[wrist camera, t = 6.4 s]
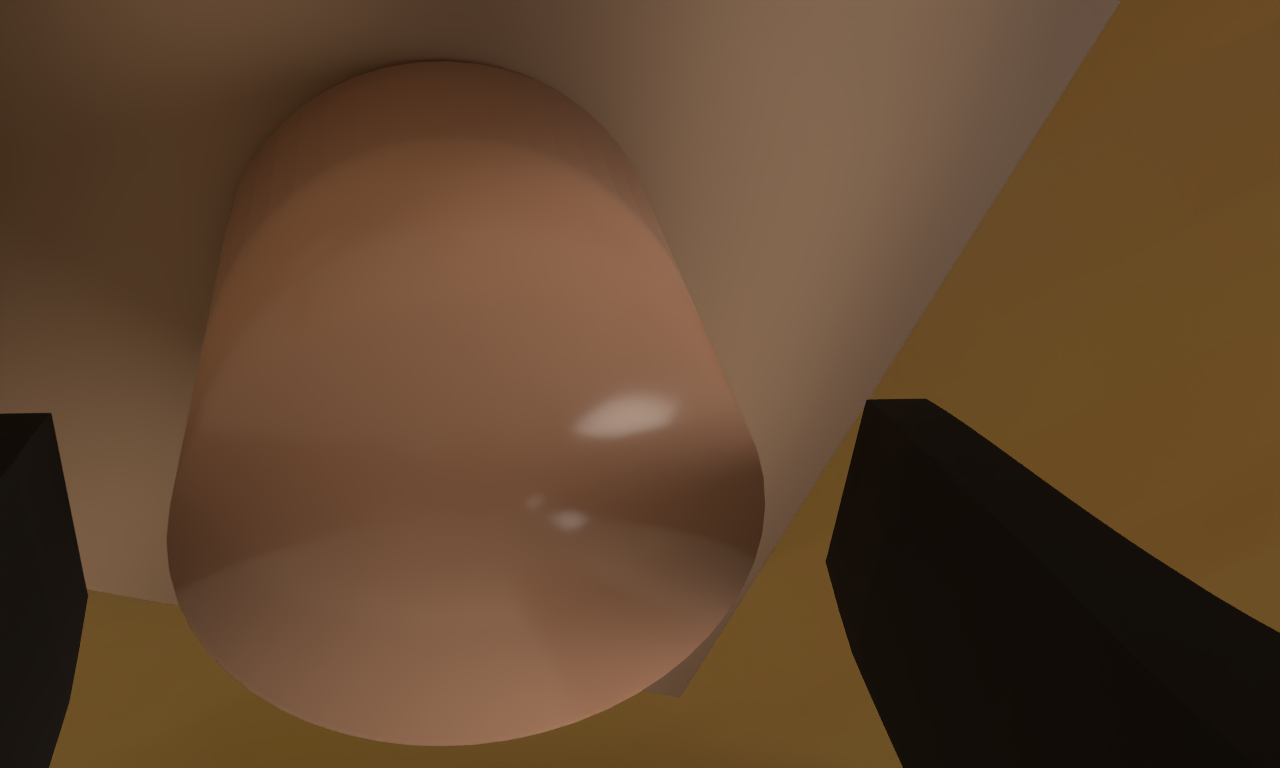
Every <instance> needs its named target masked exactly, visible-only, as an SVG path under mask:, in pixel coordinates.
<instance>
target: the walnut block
mask: <svg viewBox="0 0 1280 768" xmlns="http://www.w3.org/2000/svg"><path fill="white" fill-rule="evenodd" d="M1120 2H1121V0H0V414H4V413H52V418H53V423H54V428H55V433H56V438H57V443H58V448H59V453H60V458H61V463H62V468H63V473H64V478H65V483H66V488H67V493H68V498H69V503H70V508H71V513H72V518H73V523H74V528H75V533H76V538H77V543H78V548H79V553H80V558H81V563H82V568H83V573H84V578H85V583H86V588H87V589H88V590H94V591H99V592H105V593H110V594H116V595H121V596H127V597H132V598H137V599H143V600H148V601H154V602H159V603H165V604H170V605H176V606H180V605H179V603H178V601H177V598H176V594H175V591H174V587H173V583H172V580H171V576H170V572H169V566H168V554H167V542H166V538H167V528H168V518H169V508H170V503H171V498H172V493H173V488H174V483H175V478H176V473H177V469H178V464H179V459H180V454H181V449H182V444H183V439H184V434H185V429H186V424H187V419H188V414H189V409H190V404H191V400H192V395H193V390H194V385H195V380H196V375H197V370H198V365H199V360H200V355H201V350H202V345H203V340H204V335H205V331H206V326H207V321H208V316H209V311H210V306H211V301H212V296H213V291H214V286H215V281H216V276H217V271H218V266H219V262H220V257H221V252H222V247H223V242H224V237H225V232H226V227H227V222H228V217H229V214H230V210H231V207H232V203H233V200H234V196H235V193H236V190H237V188H238V186H239V184H240V182H241V179H242V177H243V175H244V173H245V171H246V168H247V167H248V165H249V164H250V162H251V161H252V159H253V158H254V156H255V155H256V153H257V151H258V150H259V148H260V147H261V145H262V144H263V143H264V142H265V141H266V140H267V139H268V137H269V136H270V135H271V134H272V133H273V132H274V131H275V130H276V128H277V127H278V126H279V125H280V124H281V123H282V122H283V121H284V120H286V119H287V118H288V117H289V116H290V115H292V114H293V113H294V112H295V111H296V110H298V109H299V108H300V107H301V106H302V105H304V104H305V103H307V102H308V101H310V100H312V99H313V98H315V97H316V96H318V95H319V94H321V93H323V92H324V91H326V90H327V89H329V88H332V87H334V86H336V85H338V84H340V83H342V82H345V81H347V80H349V79H351V78H353V77H356V76H359V75H362V74H365V73H369V72H372V71H375V70H378V69H382V68H385V67H391V66H397V65H402V64H408V63H414V62H434V61H453V62H465V63H476V64H482V65H486V66H491V67H496V68H500V69H505V70H509V71H511V72H514V73H517V74H520V75H523V76H526V77H528V78H531V79H534V80H536V81H538V82H540V83H542V84H544V85H546V86H548V87H550V88H552V89H554V90H556V91H558V92H560V93H562V94H563V95H565V96H566V97H567V98H569V99H570V100H572V101H573V102H575V103H576V104H578V105H579V106H580V107H582V108H583V109H585V110H586V111H587V112H588V113H589V114H590V115H591V116H592V117H593V118H595V119H596V120H597V121H598V122H599V123H600V124H601V125H602V126H603V127H604V128H605V129H606V130H607V131H608V132H609V134H610V135H611V136H612V137H613V138H614V140H615V141H616V142H617V143H618V145H619V146H620V147H621V148H622V150H623V151H624V153H625V155H626V156H627V158H628V160H629V161H630V163H631V165H632V166H633V168H634V169H635V172H636V174H637V176H638V178H639V181H640V183H641V185H642V188H643V190H644V192H645V194H646V197H647V199H648V201H649V203H650V206H651V208H652V210H653V213H654V215H655V217H656V219H657V222H658V224H659V226H660V229H661V231H662V233H663V235H664V238H665V240H666V242H667V244H668V247H669V249H670V251H671V254H672V256H673V258H674V260H675V263H676V265H677V267H678V270H679V272H680V274H681V276H682V279H683V281H684V283H685V286H686V288H687V290H688V292H689V295H690V297H691V299H692V301H693V304H694V306H695V308H696V311H697V313H698V315H699V317H700V320H701V322H702V324H703V327H704V329H705V331H706V333H707V336H708V338H709V340H710V342H711V345H712V347H713V349H714V352H715V354H716V356H717V358H718V361H719V363H720V365H721V368H722V370H723V372H724V374H725V377H726V379H727V381H728V383H729V386H730V388H731V390H732V393H733V395H734V397H735V399H736V402H737V404H738V406H739V409H740V411H741V413H742V415H743V418H744V420H745V422H746V425H747V427H748V429H749V432H750V434H751V436H752V439H753V441H754V443H755V446H756V448H757V451H758V455H759V460H760V464H761V468H762V473H763V477H764V493H765V513H764V522H763V531H762V536H761V540H760V544H759V547H758V551H757V554H756V558H755V562H754V564H753V566H752V568H751V571H750V573H749V575H748V577H747V580H746V582H745V584H744V586H743V588H742V590H741V592H740V593H739V595H738V597H737V598H736V600H735V601H734V603H733V605H732V606H731V608H730V610H729V611H728V613H727V614H726V615H725V616H724V618H723V619H722V620H721V621H720V623H719V624H718V625H717V626H716V628H715V629H714V630H713V631H712V633H711V634H710V635H709V636H708V637H707V638H706V639H705V640H704V641H703V642H702V643H701V644H700V645H699V646H698V647H697V648H696V649H695V650H694V651H693V652H692V653H691V654H690V655H689V656H688V657H687V658H686V659H685V660H683V661H682V662H681V663H680V664H678V665H677V666H676V667H675V668H673V669H672V670H671V671H670V672H668V673H667V674H666V675H665V676H663V677H662V678H660V679H659V680H657V681H656V682H654V683H653V684H651V685H650V686H648V687H646V688H645V689H643V691H648V692H654V693H659V694H664V695H670V696H675V697H681V695H682V693H683V692H684V690H685V689H686V687H687V686H688V684H689V682H690V681H691V679H692V678H693V676H694V674H695V673H696V671H697V670H698V668H699V667H700V665H701V663H702V662H703V660H704V659H705V657H706V655H707V654H708V652H709V651H710V649H711V648H712V646H713V644H714V643H715V641H716V640H717V638H718V637H719V635H720V633H721V632H722V630H723V629H724V627H725V625H726V624H727V622H728V621H729V619H730V618H731V616H732V614H733V613H734V611H735V610H736V608H737V607H738V605H739V603H740V602H741V600H742V599H743V597H744V595H745V594H746V592H747V591H748V589H749V588H750V586H751V584H752V583H753V581H754V580H755V578H756V577H757V575H758V573H759V572H760V570H761V569H762V567H763V565H764V564H765V562H766V561H767V559H768V558H769V556H770V554H771V553H772V551H773V550H774V548H775V546H776V545H777V543H778V542H779V540H780V539H781V537H782V535H783V534H784V532H785V531H786V529H787V528H788V526H789V524H790V523H791V521H792V520H793V518H794V516H795V515H796V513H797V512H798V510H799V509H800V507H801V505H802V504H803V502H804V501H805V499H806V498H807V496H808V494H809V493H810V491H811V490H812V488H813V486H814V485H815V483H816V482H817V480H818V479H819V477H820V475H821V474H822V472H823V471H824V469H825V468H826V466H827V464H828V463H829V461H830V460H831V458H832V456H833V455H834V453H835V452H836V450H837V449H838V447H839V445H840V444H841V442H842V441H843V439H844V438H845V436H846V434H847V433H848V431H849V430H850V428H851V426H852V425H853V423H854V422H855V420H856V419H857V417H858V415H859V414H860V412H861V411H862V409H863V407H864V406H865V403H866V400H869V398H870V396H871V395H872V393H873V392H874V390H875V389H876V387H877V385H878V384H879V382H880V381H881V379H882V377H883V376H884V374H885V373H886V371H887V370H888V368H889V366H890V365H891V363H892V362H893V360H894V359H895V357H896V355H897V354H898V352H899V351H900V349H901V347H902V346H903V344H904V343H905V341H906V340H907V338H908V336H909V335H910V333H911V332H912V330H913V329H914V327H915V325H916V324H917V322H918V321H919V319H920V317H921V316H922V314H923V313H924V311H925V310H926V308H927V306H928V305H929V303H930V302H931V300H932V298H933V297H934V295H935V294H936V292H937V291H938V289H939V287H940V286H941V284H942V283H943V281H944V280H945V278H946V276H947V275H948V273H949V272H950V270H951V268H952V267H953V265H954V264H955V262H956V261H957V259H958V257H959V256H960V254H961V253H962V251H963V250H964V248H965V246H966V245H967V243H968V242H969V240H970V238H971V237H972V235H973V234H974V232H975V231H976V229H977V227H978V226H979V224H980V223H981V221H982V220H983V218H984V216H985V215H986V213H987V212H988V210H989V208H990V207H991V205H992V204H993V202H994V201H995V199H996V197H997V196H998V194H999V193H1000V191H1001V189H1002V188H1003V186H1004V185H1005V183H1006V182H1007V180H1008V178H1009V177H1010V175H1011V174H1012V172H1013V171H1014V169H1015V167H1016V166H1017V164H1018V163H1019V161H1020V159H1021V158H1022V156H1023V155H1024V153H1025V152H1026V150H1027V148H1028V147H1029V145H1030V144H1031V142H1032V141H1033V139H1034V137H1035V136H1036V134H1037V133H1038V131H1039V129H1040V128H1041V126H1042V125H1043V123H1044V122H1045V120H1046V118H1047V117H1048V115H1049V114H1050V112H1051V111H1052V109H1053V107H1054V106H1055V104H1056V103H1057V101H1058V99H1059V98H1060V96H1061V95H1062V93H1063V92H1064V90H1065V88H1066V87H1067V85H1068V84H1069V82H1070V80H1071V79H1072V77H1073V76H1074V74H1075V73H1076V71H1077V69H1078V68H1079V66H1080V65H1081V63H1082V62H1083V60H1084V58H1085V57H1086V55H1087V54H1088V52H1089V50H1090V49H1091V47H1092V46H1093V44H1094V43H1095V41H1096V39H1097V38H1098V36H1099V35H1100V33H1101V32H1102V30H1103V28H1104V27H1105V25H1106V24H1107V22H1108V20H1109V19H1110V17H1111V16H1112V14H1113V13H1114V11H1115V9H1116V8H1117V6H1118V5H1119V3H1120Z"/></svg>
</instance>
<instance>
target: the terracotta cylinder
mask: <svg viewBox="0 0 1280 768" xmlns="http://www.w3.org/2000/svg"><path fill="white" fill-rule="evenodd" d="M764 513H765V493H764V477H763V473H762V468H761V464H760V460H759V455H758V451H757V448H756V446H755V443H754V441H753V439H752V436H751V434H750V432H749V429H748V427H747V425H746V422H745V420H744V418H743V415H742V413H741V411H740V409H739V406H738V404H737V402H736V399H735V397H734V395H733V393H732V390H731V388H730V386H729V383H728V381H727V379H726V377H725V374H724V372H723V370H722V368H721V365H720V363H719V361H718V358H717V356H716V354H715V352H714V349H713V347H712V345H711V342H710V340H709V338H708V336H707V333H706V331H705V329H704V327H703V324H702V322H701V320H700V317H699V315H698V313H697V311H696V308H695V306H694V304H693V301H692V299H691V297H690V295H689V292H688V290H687V288H686V286H685V283H684V281H683V279H682V276H681V274H680V272H679V270H678V267H677V265H676V263H675V260H674V258H673V256H672V254H671V251H670V249H669V247H668V244H667V242H666V240H665V238H664V235H663V233H662V231H661V229H660V226H659V224H658V222H657V219H656V217H655V215H654V213H653V210H652V208H651V206H650V203H649V201H648V199H647V197H646V194H645V192H644V190H643V188H642V185H641V183H640V181H639V178H638V176H637V174H636V172H635V169H634V168H633V166H632V165H631V163H630V161H629V160H628V158H627V156H626V155H625V153H624V151H623V150H622V148H621V147H620V146H619V145H618V143H617V142H616V141H615V140H614V138H613V137H612V136H611V135H610V134H609V132H608V131H607V130H606V129H605V128H604V127H603V126H602V125H601V124H600V123H599V122H598V121H597V120H596V119H595V118H593V117H592V116H591V115H590V114H589V113H588V112H587V111H586V110H585V109H583V108H582V107H580V106H579V105H578V104H576V103H575V102H573V101H572V100H570V99H569V98H567V97H566V96H565V95H563V94H562V93H560V92H558V91H556V90H554V89H552V88H550V87H548V86H546V85H544V84H542V83H540V82H538V81H536V80H534V79H531V78H528V77H526V76H523V75H520V74H517V73H514V72H511V71H509V70H505V69H500V68H496V67H491V66H486V65H482V64H476V63H465V62H453V61H434V62H414V63H408V64H402V65H397V66H391V67H385V68H382V69H378V70H375V71H372V72H369V73H365V74H362V75H359V76H356V77H353V78H351V79H349V80H347V81H345V82H342V83H340V84H338V85H336V86H334V87H332V88H329V89H327V90H326V91H324V92H323V93H321V94H319V95H318V96H316V97H315V98H313V99H312V100H310V101H308V102H307V103H305V104H304V105H302V106H301V107H300V108H299V109H298V110H296V111H295V112H294V113H293V114H292V115H290V116H289V117H288V118H287V119H286V120H284V121H283V122H282V123H281V124H280V125H279V126H278V127H277V128H276V130H275V131H274V132H273V133H272V134H271V135H270V136H269V137H268V139H267V140H266V141H265V142H264V143H263V144H262V145H261V147H260V148H259V150H258V151H257V153H256V155H255V156H254V158H253V159H252V161H251V162H250V164H249V165H248V167H247V168H246V171H245V173H244V175H243V177H242V179H241V182H240V184H239V186H238V188H237V190H236V193H235V196H234V200H233V203H232V207H231V210H230V214H229V217H228V222H227V227H226V232H225V237H224V242H223V247H222V252H221V257H220V262H219V266H218V271H217V276H216V281H215V286H214V291H213V296H212V301H211V306H210V311H209V316H208V321H207V326H206V331H205V335H204V340H203V345H202V350H201V355H200V360H199V365H198V370H197V375H196V380H195V385H194V390H193V395H192V400H191V404H190V409H189V414H188V419H187V424H186V429H185V434H184V439H183V444H182V449H181V454H180V459H179V464H178V469H177V473H176V478H175V483H174V488H173V493H172V498H171V503H170V508H169V518H168V528H167V538H166V542H167V554H168V566H169V572H170V576H171V580H172V583H173V587H174V591H175V594H176V598H177V601H178V603H179V605H180V607H181V609H182V611H183V613H184V615H185V617H186V619H187V622H188V624H189V626H190V627H191V629H192V630H193V632H194V633H195V635H196V636H197V637H198V639H199V640H200V642H201V643H202V645H203V646H204V647H205V649H206V650H207V652H208V653H209V654H210V655H211V656H212V657H213V658H214V659H215V660H216V661H217V662H218V663H219V664H220V665H221V666H222V667H223V668H224V669H225V670H226V672H227V673H228V674H230V675H231V676H232V677H233V678H235V679H236V680H237V681H239V682H240V683H241V684H242V685H244V686H245V687H246V688H247V689H249V690H250V691H251V692H252V693H254V694H256V695H257V696H259V697H261V698H262V699H264V700H266V701H267V702H269V703H271V704H272V705H274V706H275V707H277V708H279V709H280V710H283V711H285V712H287V713H289V714H291V715H294V716H296V717H298V718H300V719H303V720H305V721H307V722H309V723H312V724H315V725H318V726H321V727H324V728H327V729H330V730H333V731H336V732H339V733H342V734H347V735H351V736H356V737H360V738H365V739H369V740H374V741H381V742H389V743H397V744H405V745H423V746H456V745H476V744H484V743H491V742H498V741H506V740H512V739H517V738H521V737H525V736H530V735H534V734H539V733H543V732H547V731H550V730H553V729H556V728H559V727H563V726H566V725H569V724H572V723H575V722H578V721H580V720H583V719H585V718H588V717H590V716H592V715H595V714H597V713H600V712H602V711H605V710H607V709H609V708H611V707H613V706H615V705H616V704H618V703H620V702H622V701H624V700H626V699H628V698H630V697H632V696H634V695H636V694H637V693H639V692H640V691H642V690H643V689H645V688H646V687H648V686H650V685H651V684H653V683H654V682H656V681H657V680H659V679H660V678H662V677H663V676H665V675H666V674H667V673H668V672H670V671H671V670H672V669H673V668H675V667H676V666H677V665H678V664H680V663H681V662H682V661H683V660H685V659H686V658H687V657H688V656H689V655H690V654H691V653H692V652H693V651H694V650H695V649H696V648H697V647H698V646H699V645H700V644H701V643H702V642H703V641H704V640H705V639H706V638H707V637H708V636H709V635H710V634H711V633H712V631H713V630H714V629H715V628H716V626H717V625H718V624H719V623H720V621H721V620H722V619H723V618H724V616H725V615H726V614H727V613H728V611H729V610H730V608H731V606H732V605H733V603H734V601H735V600H736V598H737V597H738V595H739V593H740V592H741V590H742V588H743V586H744V584H745V582H746V580H747V577H748V575H749V573H750V571H751V568H752V566H753V564H754V562H755V558H756V554H757V551H758V547H759V544H760V540H761V536H762V531H763V522H764Z"/></svg>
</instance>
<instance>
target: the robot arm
mask: <svg viewBox="0 0 1280 768" xmlns="http://www.w3.org/2000/svg"><path fill="white" fill-rule="evenodd" d="M826 565H827V568H828V572H829V576H830V579H831V583H832V587H833V590H834V594H835V598H836V601H837V605H838V608H839V612H840V615H841V619H842V622H843V625H844V628H845V631H846V635H847V638H848V641H849V644H850V648H851V651H852V654H853V656H854V658H855V661H856V663H857V665H858V668H859V670H860V673H861V675H862V677H863V679H864V682H865V684H866V686H867V688H868V691H869V693H870V695H871V697H872V700H873V702H874V704H875V706H876V709H877V711H878V713H879V716H880V718H881V720H882V722H883V725H884V727H885V729H886V731H887V733H888V736H889V738H890V740H891V742H892V744H893V747H894V749H895V751H896V753H897V755H898V758H899V760H900V762H901V764H902V766H903V768H1280V633H1279V632H1277V631H1275V630H1274V629H1272V628H1270V627H1268V626H1266V625H1265V624H1263V623H1261V622H1259V621H1257V620H1255V619H1254V618H1252V617H1250V616H1248V615H1247V614H1245V613H1243V612H1242V611H1240V610H1238V609H1236V608H1235V607H1233V606H1231V605H1230V604H1228V603H1226V602H1225V601H1223V600H1221V599H1220V598H1218V597H1216V596H1215V595H1213V594H1211V593H1210V592H1208V591H1207V590H1205V589H1203V588H1202V587H1200V586H1199V585H1197V584H1196V583H1194V582H1192V581H1191V580H1189V579H1188V578H1186V577H1185V576H1183V575H1181V574H1180V573H1178V572H1177V571H1175V570H1174V569H1172V568H1170V567H1169V566H1167V565H1166V564H1164V563H1163V562H1161V561H1160V560H1158V559H1156V558H1155V557H1153V556H1152V555H1150V554H1149V553H1147V552H1146V551H1144V550H1143V549H1141V548H1140V547H1138V546H1137V545H1135V544H1134V543H1132V542H1131V541H1129V540H1128V539H1126V538H1125V537H1123V536H1122V535H1120V534H1119V533H1117V532H1116V531H1114V530H1113V529H1112V528H1110V527H1109V526H1107V525H1106V524H1104V523H1103V522H1101V521H1100V520H1099V519H1097V518H1096V517H1094V516H1093V515H1091V514H1090V513H1089V512H1087V511H1086V510H1084V509H1083V508H1081V507H1080V506H1079V505H1077V504H1076V503H1074V502H1073V501H1072V500H1070V499H1069V498H1067V497H1066V496H1065V495H1063V494H1062V493H1060V492H1059V491H1058V490H1056V489H1055V488H1053V487H1052V486H1051V485H1049V484H1048V483H1046V482H1045V481H1044V480H1042V479H1041V478H1040V477H1038V476H1037V475H1035V474H1034V473H1033V472H1031V471H1030V470H1029V469H1027V468H1026V467H1024V466H1023V465H1022V464H1020V463H1019V462H1017V461H1016V460H1015V459H1013V458H1012V457H1011V456H1009V455H1008V454H1006V453H1005V452H1004V451H1002V450H1001V449H1000V448H998V447H997V446H995V445H994V444H993V443H991V442H990V441H988V440H987V439H986V438H984V437H983V436H981V435H980V434H979V433H977V432H976V431H974V430H973V429H972V428H970V427H969V426H967V425H966V424H964V423H963V422H962V421H960V420H959V419H957V418H956V417H954V416H953V415H951V414H950V413H948V412H947V411H945V410H944V409H942V408H940V407H939V406H937V405H935V404H934V403H932V402H931V401H929V400H927V399H878V400H866V403H865V407H864V411H863V415H862V419H861V423H860V427H859V431H858V435H857V439H856V443H855V447H854V451H853V455H852V459H851V463H850V467H849V471H848V475H847V479H846V483H845V487H844V491H843V495H842V499H841V503H840V507H839V511H838V515H837V519H836V523H835V527H834V531H833V535H832V539H831V543H830V547H829V551H828V555H827V559H826ZM87 598H88V593H87V588H86V583H85V578H84V573H83V568H82V563H81V558H80V553H79V548H78V543H77V538H76V533H75V528H74V523H73V518H72V513H71V508H70V503H69V498H68V493H67V488H66V483H65V478H64V473H63V468H62V463H61V458H60V453H59V448H58V443H57V438H56V433H55V428H54V423H53V418H52V413H4V414H0V768H49V765H50V762H51V759H52V756H53V753H54V749H55V746H56V743H57V740H58V737H59V734H60V730H61V727H62V724H63V721H64V717H65V714H66V711H67V708H68V704H69V700H70V695H71V690H72V684H73V679H74V674H75V669H76V663H77V658H78V653H79V647H80V641H81V635H82V629H83V622H84V616H85V610H86V604H87Z"/></svg>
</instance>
